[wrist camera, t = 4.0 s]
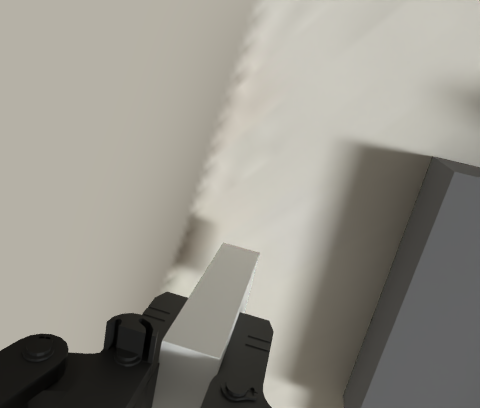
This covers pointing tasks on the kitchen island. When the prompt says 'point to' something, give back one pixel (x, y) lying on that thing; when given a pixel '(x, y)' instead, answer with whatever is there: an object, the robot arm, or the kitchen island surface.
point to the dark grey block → (428, 304)
